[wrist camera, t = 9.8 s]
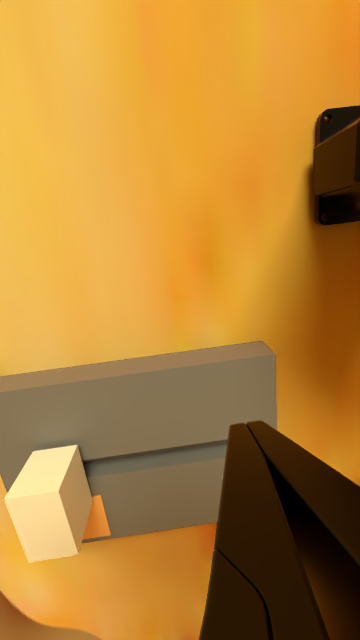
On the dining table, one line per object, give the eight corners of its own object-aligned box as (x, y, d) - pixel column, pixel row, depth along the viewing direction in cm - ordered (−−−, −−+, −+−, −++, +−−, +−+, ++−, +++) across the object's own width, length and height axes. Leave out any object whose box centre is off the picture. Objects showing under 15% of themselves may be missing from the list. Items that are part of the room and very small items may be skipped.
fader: (83, 429, 20) (58, 491, 15) (97, 482, 22) (78, 554, 17) (42, 435, 20) (3, 499, 15) (59, 488, 22) (28, 562, 17)
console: (262, 340, 21) (276, 354, 18) (267, 486, 25) (279, 513, 22) (-7, 377, 20) (-31, 397, 18) (43, 520, 24) (29, 552, 22)
